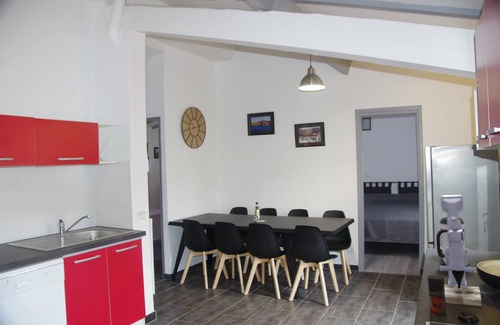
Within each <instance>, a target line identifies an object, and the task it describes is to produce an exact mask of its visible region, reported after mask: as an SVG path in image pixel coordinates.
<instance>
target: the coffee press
mask: <svg viewBox="0 0 500 325" xmlns="http://www.w3.org/2000/svg"><path fill="white" fill-rule="evenodd" d="M458 219H460V221H461V228H462V231H463V234H464V243H463V241H462V243H463V248H464V249H465V250H466V251H467V249H466V246H467V245H466V236H465V228H464V227H465V226H464V224H465V221H464V220H463V219H462V218H461V217H459V216H458ZM447 220H448V216H445V217H442V218H441V219H440V220H439V225H440V228H439V231H437V233H436V237H435V238H436V252H437V255H438V257H439V258H441V260H440V264H441V265H443V264H445V249H446V248H447V247H448V246H449V244H448V238H447V231H448V226H447ZM468 265H470V262H469V261H468V260H467V265H466V266H468Z"/></svg>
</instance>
